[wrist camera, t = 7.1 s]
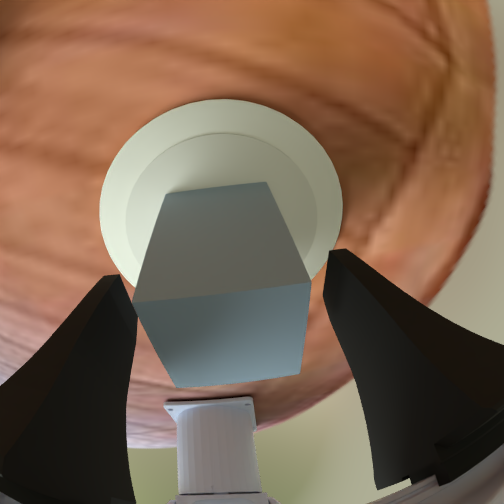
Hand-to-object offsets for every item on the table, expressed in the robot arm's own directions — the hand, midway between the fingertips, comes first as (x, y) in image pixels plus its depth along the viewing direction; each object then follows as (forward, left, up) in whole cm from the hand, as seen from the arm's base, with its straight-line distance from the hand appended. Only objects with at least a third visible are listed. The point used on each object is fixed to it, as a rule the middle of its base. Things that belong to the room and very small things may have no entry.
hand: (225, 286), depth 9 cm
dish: (0, 0, -5) cm, 5 cm away
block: (0, 0, -3) cm, 3 cm away
